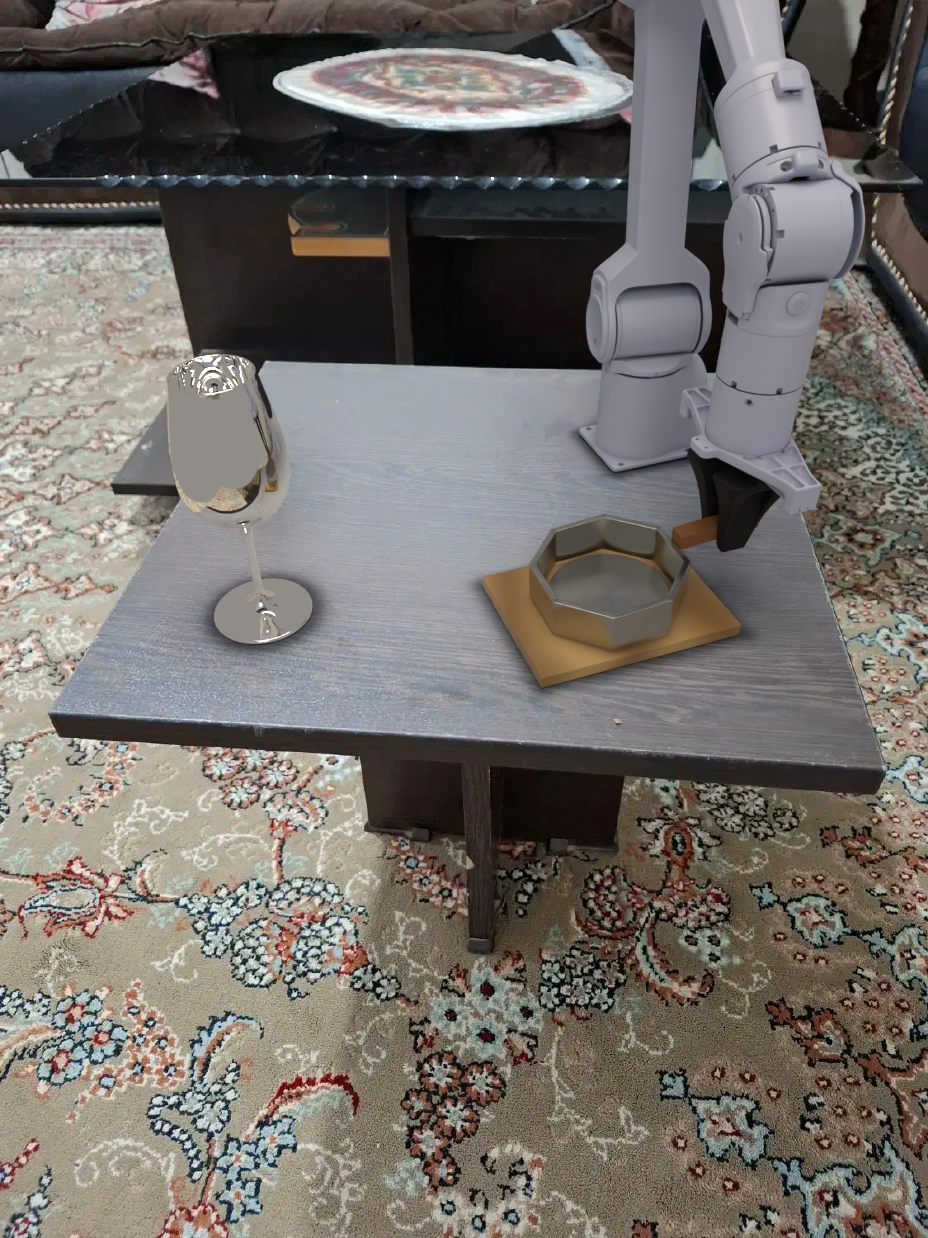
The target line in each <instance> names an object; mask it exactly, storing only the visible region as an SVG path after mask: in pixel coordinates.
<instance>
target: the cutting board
mask: <svg viewBox="0 0 928 1238" xmlns="http://www.w3.org/2000/svg"><path fill="white" fill-rule="evenodd" d="M594 554H617V555H623V556H628V557H631V558H634V559H637V560H640V561H642V562H644V563H646V564H647V565H649V566H651V567H652V568H653V569H655V570H656V571H657V572H658V573H659V574H660V575H661V576H662V578H663V579H664V581H665V583H666V585H667V587H668V591H670V589H671V587H672V584H671V582H670V581H669V580H668V579H667V577H666V576H665V575H664V574H663V572H662V571H661V570H660V569H659V567H658V566H657V565H656V564H655V563H654V561H652V560H648V559H643V558H639V557H635V556H631V555H627V554H622V553H618V552H614V551H610V550H605V549H601V550H598V551H595V552H591V553H588V554H584V555H581V556H577V557H574V558H571V559H567V560H564V561H560V562H557V563H556V564H555V565H554V567H553V569H552V570H551V572H550V574H549V575H548V577H547V579H546V581H547V582H548V584H549V581H550V579H551V578H552V576H553V575H554V574H555V573H556V571H557V570H558V569H560V568H561V567H562V566H564V565H565V564H567V563H568V562H571V561H573V560H575V559H578V558H581V557H584V556H588V555H594ZM482 588H483V590H484V591H485V593H486V595H487V597H488V598H489V600H490V601H491V603H492V605H493V607H494V608H495V610H496V612H497V614H498V616H499V617H500V619H501V621H502V622H503V625H504V626H505V628H506V630H507V631H508V633H509V635H510V636H511V638H512V640H513V642H514V643H515V645H516V647H517V649H518V650H519V652H520V654H521V655H522V657H523V659H524V661H525V662H526V665H527V666H528V668H529V669H530V671H531V673H532V675H533V677H534V678H535V680H536V681H537V683H538V685H539V687H540V689H543V688H547V687H552V686H554V685H559V684H562V683H565V682H570V681H573V680H577V679H581V678H583V677H587V676H591V675H595V674H598V673H603V672H606V671H610V670H614V669H617V668H621V667H625V666H629V665H631V664H632V665H633V664H636V663H640V662H644V661H647V660H651V659H654V658H658V657H662V656H666V655H669V654H673V653H676V652H680V651H684V650H688V649H691V648H695V647H698V646H703V645H706V644H709V643H714V642H716V641H720V640H725V639H729V638H731V637H735V636H736V637H737V636H739V635H740V631H741V628H742V624H741V623H740V622H739V621H738V619H737V618H736V617H735V616H734V615H733V613H732V612H731V611H730V610H729V609H728V608H727V606H725V605H724V603H723V602H722V601H721V600H720V599H719V597H718V596H717V595H716V594H715V593H714V592H713V591H712V590H711V588H710V587H709V586H708V585H707V584H706V583H705V581H704V580H703V579H702V578H701V577H700V575H698V573H697V572H696V571H695V570H694V569H693V568H692V567H691V566H690V569H689V576H688V583H687V591H686V594H685V597H684V599H683V601H682V604H681V606H680V608H679V611H678V613H677V615H676V617H675V620H674V622H673V624H672V627H671V629H670V631H669V633H665V634H662V635H659V636H656V637H653V638H650V639H646V640H643V641H640V642H637V643H634V644H631V645H627V646H624V647H621V648H618V649H615V650H609V649H606V648H602V647H599V646H595V645H591V644H588V643H584V642H581V641H577V640H573V639H570V638H566V637H563V636H559V635H556V634H553V632H552V631H551V629H550V628H549V626H548V624H547V623H546V621H545V619H544V618H543V616H542V615H541V613H540V611H539V610H538V608H537V606H536V605H535V603H534V602H533V600H532V598H531V597H530V589H529V565H527V566H523V567H518V568H514V569H510V570H506V571H502V572H498V573H492V574H489V575H484V576H482Z"/></svg>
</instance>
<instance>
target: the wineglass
mask: <svg viewBox="0 0 928 1238" xmlns="http://www.w3.org/2000/svg"><path fill="white" fill-rule="evenodd" d="M166 425H167V439H168V440H167V443H168V445H167V446H168V454H169V455H168V456H169V461H170V468H171V473H172V478H173V482H174V484H175V487H176V490H177V492H178V495H179V498H180V499H181V500H182V502H183V503H184V504H185V506H186V508H188V510H189V511H190V512H191V513H192V514H194V515H195V516H196V517H197V518H199V519H200V520H202V521H203V522H205V523H206V524H209V525H211V526H213V527H217V528H221V529H225V530H228V531H229V530H230V531H238V533H239V535H240V538H241V540H242V544H243V547H244V551H245V554H246V560H247V564H248V568H249V572H250V577H251V580H250V581H247V582H245V583H242V584H239V585H238V586H236V587H234V588H232V589H231V590H229V591H228V592H227V593H225V594H224V595H223V596H222V597H221V599H220V600H219V601H218V602H217V604H216V606H215V609H214V611H213V612H214V613H213V622H214V624H215V627H216V629H217V630H218V632H220V634H222V635H223V636H224V637H226V638H227V639H229V640H231V641H234V642H236V643H240V644H247V645H262V644H269V643H273V642H277V641H281V640H283V639H285V638H287V637H289V636H292V634H294V633H296V632H298V631H299V630H300V629H301V628H302V627H303V626H305V624H306V623H308V622H307V621H308V620H309V619H310V617H311V614H312V612H313V606H314V605H313V599H312V597H311V595H310V593H309V592H308V591H307V589H306V588H305V587H304V586H302V585H300V584H299V583H296V582H294V581H291V580H288V579H284V578H276V577H275V578H273V577H271V578H270V577H269V578H268V577H267V578H262V576H261V575H262V574H261V570H260V565H259V562H258V556H257V552H256V547H255V541H254V527H257V526H259V525H261V524H263V523H264V522H266V521H267V520H269V519H270V518H271V517H272V516H273V515H275V514H276V512H278V511H279V510H280V508H281V506H282V504H283V502H284V501H285V499H286V497H287V496H288V493H289V490H290V489H289V488H290V484H291V480H292V479H291V478H292V470H291V462H290V461H291V459H290V455H289V450H288V447H287V444H286V439H285V437H284V434H283V431H282V427H281V426H280V423H279V420H278V417H277V414H276V412H275V409H274V407H273V405H272V402H271V401H270V397H269V395H268V393H267V391H266V389H265V387H264V383H263V382H262V380H261V377H260V375H259V372H258V370H257V368H256V366H255V364H254V363H253V362H252V361H250V360H249V359H247V358H245V357H243V356H240V355H234V354H228V353H227V354H226V353H221V354H220V353H219V354H218V353H216V354H215V353H214V354H207V355H201V356H197V357H193V358H190V359H188V360H184V361H183V362H181V363H179V364H177V365H176V366H174V367H173V368H172V369H171V370H170V371H169V372H168V374H167V376H166Z"/></svg>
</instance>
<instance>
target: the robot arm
mask: <svg viewBox="0 0 928 1238" xmlns="http://www.w3.org/2000/svg"><path fill="white" fill-rule="evenodd" d="M617 1H618V2H620V3H621V4H623V5H625V6H626V7H628V8H629V9H632V11H634V12H633V13H634V14H633V15H634V55H633V56H634V57H633V75H632V76H633V78H632V79H633V80H632V96H631V97H632V99H631V100H632V101H631V120H630V142H629V143H630V144H629V164H628V165H629V166H628V183H627V184H628V185H627V205H626V207H627V208H626V225H625V226H626V228H625V229H626V230H625V243H624V244H623V245H622V246H621V247H620V248H619V249H617V251H615V252H614V253H613V254H612V255H610V256H609V257H608V258H607V259H605V260H604V261H603V262H602V263H601V264H599V265H598V266H597V267H596V268H595V269H594V271H593V273H592V277H591V284H590V293H589V298H588V301H587V306H586V313H585V331H586V340H587V345H588V349H589V351H590V353H591V355H592V356H593V357H594V358H595V360H596V361H597V362H598V363H600V364H601V373H600V383H599V393H598V403H597V415H596V416H597V417H596V424H593V425H588V426H583V427H580V428H579V429H578V435H580V436H581V437H582V438H583V440H584V441H585V442H586V443H587V444H588V445H589V447H590V448H591V449H592V450H593V451H594V452H595V453H596V455H597V456H598V457H599V458H600V459H601V460H602V461H603V462H604V464H605V465H606V466H607V467H608V468H609V469H610V470H611V471H612V472H617V473H618V472H622V471H626V470H631V469H637V468H641V467H645V466H651V465H656V464H659V463H660V464H661V463H665V462H669V461H675V460H678V459H683V458H687V459H688V462H689V464H690V466H691V469H692V471H693V474H694V478H695V481H696V486H697V489H698V494H699V495H698V496H699V502H700V512H701V519H703V518H706V517H710V516H713V515H717V514H719V518H718V526H717V539H716V541H715V543H716V548H717V549H718V550H719V551H720V553H727V552H732V551H736V550H740V549H743V548H745V546H746V545H747V543H748V542H749V540H750V538H751V537H752V535H753V533H754V531H755V529H756V526H757V525H758V526H759V524H760V522H761V520H762V519H763V517H764V516H765V514H766V513H767V512H768V511H769V509H770V508H771V507H773V505H774V504H775V503H776V502H777V501H778V500H779V499H780V498H781V499H782V500H783V501H782V504H781V508H782V509H783V510H784V511H785V512H786V513H787V514H788V515H790V516H791V515H796V514H801V513H805V512H808V511H812V510H815V509H817V504H818V501H819V498H820V494H821V491H822V488H823V484H822V483H821V482H819V480H818V479H817V478H816V477H815V476H814V475H813V474H812V472H811V471H810V469H809V467H808V465H807V463H806V460H805V459H804V456H803V455H802V453H801V451H800V449H799V447H798V445H797V443H796V442H795V439H794V437H793V435H792V432H793V427H794V425H795V420H796V416H797V413H798V408H799V404H800V401H801V398H802V394H803V389H804V385H805V382H806V379H807V374H808V370H809V367H810V363H811V359H812V354H813V350H814V347H815V343H816V340H817V335H818V331H819V328H820V323H821V320H822V315H823V311H824V308H825V304H826V300H827V296H828V294H829V293H828V292H829V288H830V283H829V281H832V280H839V279H843V277H845V276H847V274H848V273H850V271H851V270H852V268H853V267H854V265H855V264H856V262H857V260H858V257H859V256H860V252H861V250H862V246H863V241H864V236H865V229H866V212H865V205H864V204H865V203H864V196H863V190H862V187H861V185H860V183H859V182H858V181H857V179H855V178H854V177H853V176H852V175H850V174H849V173H846V172H845V170H844V167H843V163H842V162H841V161H840V162H839V160H835V159H834V160H833V159H832V158H830V157H829V154H828V148H827V143H826V140H825V135H824V131H823V126H822V122H821V118H820V114H819V109H818V105H817V101H816V97H815V96H816V95H815V92H814V87H813V83H812V80H811V74H810V71H809V70H808V68H807V66H805V65H804V64H803V63H801V62H799V61H797V60H795V59H791V58H788V57H786V50H785V43H784V42H785V41H784V33H783V25H782V18H781V17H782V16H781V9H780V1H779V0H617ZM705 20H706V23H707V25H708V26H707V27H708V29H709V32H710V35H711V38H712V41H713V45H714V48H715V51H716V54H717V57H718V60H719V64H720V66H721V67H720V68H721V70H722V73H723V77H724V79H725V83H726V84H725V85H723V87H722V88H721V91H720V92H719V93H718V96H717V98H716V100H715V103H714V107H713V117H714V122H715V126H716V132H717V136H718V140H719V145H720V150H721V155H722V159H723V163H724V167H725V168H724V169H725V174H726V179H727V183H728V188H729V189H728V190H729V193H730V198H731V199H730V200H731V204H732V205H731V208H730V209H729V213H728V216H727V219H725V220H724V225H723V226H724V227H723V234H722V237H723V238H722V250H723V261H724V276H723V282H722V288H721V293H722V302H723V304H724V305H725V306H726V307H727V310H726V315H725V320H724V321H725V322H724V325H723V333H722V336H721V337H722V338H721V343H720V348H719V352H718V353H719V354H718V359H717V363H716V365H717V366H716V370H715V375H714V380H713V387H712V389H710V388H709V383H708V382H709V381H708V373H707V369H706V366H705V363H704V361H703V359H702V358H701V356H700V355H699V354H698V353H700V352H701V351H702V350H703V348H705V347H704V346H705V345H706V343H707V342H708V339H709V337H710V334H711V330H712V321H713V310H712V302H711V298H710V283H711V281H710V280H711V277H710V271H709V269H708V267H707V266H706V265H705V263H704V262H703V261H702V260H701V259H700V258H698V257H697V256H696V255H695V254H693V253H692V252H691V251H690V250H688V249H687V248H686V247H685V244H686V233H687V219H688V218H687V217H688V205H689V195H690V193H689V192H690V181H691V180H690V179H691V169H692V156H693V141H694V133H695V132H694V130H695V119H696V105H697V95H698V94H697V92H698V82H699V81H698V79H699V70H700V69H699V68H700V67H699V66H700V57H701V56H700V55H701V43H702V30H703V24H704V21H705ZM758 523H759V524H758Z"/></svg>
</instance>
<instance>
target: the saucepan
mask: <svg viewBox="0 0 928 1238" xmlns="http://www.w3.org/2000/svg"><path fill="white" fill-rule="evenodd" d="M718 518H719V514H717V515H713V516H710V517H706V518H703V519H702V518H699V519H696V520H693V521H690V522H686V523H682V524H679V525H676V526H672V531H671V536H669V534H668V533H667V532H666V531H665V530H664V528H663V527H661V525H657V524H653V523H652V524H651V523H648V522H643V521H639V520H634V519H629V518H626V517H621V516H617V515H612V514H608V513H602V514H598V515H594V516H591V517H587V518H584V519H581V520H577V521H574V522H570V523H567V524H564V525H563V524H562V525H560V526H557V527H552V528H551V529H550V530H549V532H547V535H546V536H545V538H544V540H543V541H542V543H541V544H540V546H539V548H538V549H537V551H536V552H535V554H534V555H533V557H532V559H531V560H530V562H529V563H528V566H529V589H530V597H531V598H532V600H533V602H534V603H535V605H536V606H537V608H538V610H539V611H540V613H541V615H542V616H543V618H544V619H545V621H546V623H547V624H548V626H549V628H550V629H551V631H552V632H553V634H556V635H559V636H563V637H566V638H570V639H573V640H577V641H581V642H584V643H588V644H591V645H595V646H599V647H602V648H606V649H609V650H615V649H618V648H621V647H624V646H627V645H631V644H634V643H637V642H640V641H643V640H646V639H650V638H653V637H656V636H659V635H662V634H665V633H669V631H670V629H671V627H672V624H673V622H674V620H675V617H676V615H677V613H678V611H679V608H680V606H681V604H682V601H683V599H684V597H685V594H686V591H687V583H688V576H689V569H690V567H691V560H690V559H689V558H688V557H687V556H686V554H685V553H684V552H683V551H682V550H685V549H686V550H687V549H689V548H693V547H695V546H699V545H703V544H706V543H709V542H712V541H715V540H716V539H717V526H718ZM759 524H760V522H759V523H758V525H757V526H756V528H759ZM756 528H755V529H756ZM601 549H605V550H610V551H614V552H618V553H622V554H627V555H631V556H635V557H639V558H643V559H648V560H652V561H654V563H655V564H656V565H657V566H658V567H659V569H660V570H661V571H662V572H663V574H664V575H665V576H666V577H667V579H668V580H669V581H670V582H671V584H672V587H671V589H670V591H668V587H667V585H666V583H665V581H664V579H663V578H662V576H661V575H660V574H659V573H658V572H657V571H656V570H655V569H653V568H652V567H651V566H649V565H647V564H646V563H644V562H642V561H640V560H637V559H634V558H631V557H628V556H623V555H617V554H594V555H588V556H584V557H581V558H578V559H575V560H573V561H571V562H568V563H567V564H565V565H564V566H562V567H561V568H560V569H558V570H557V571H556V573H555V574H554V575H553V576H552V578H551V579H550V581H549V584H548V582H547V581H546V579H547V577H548V575H549V574H550V572H551V570H552V569H553V567H554V565H555V564H556V563H557V562H560V561H564V560H567V559H571V558H574V557H577V556H581V555H584V554H588V553H591V552H595V551H598V550H601Z"/></svg>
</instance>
